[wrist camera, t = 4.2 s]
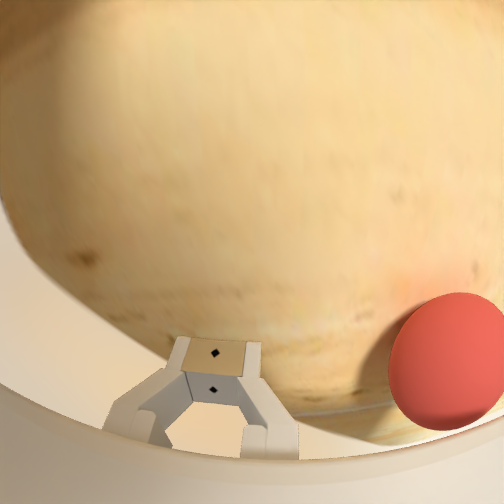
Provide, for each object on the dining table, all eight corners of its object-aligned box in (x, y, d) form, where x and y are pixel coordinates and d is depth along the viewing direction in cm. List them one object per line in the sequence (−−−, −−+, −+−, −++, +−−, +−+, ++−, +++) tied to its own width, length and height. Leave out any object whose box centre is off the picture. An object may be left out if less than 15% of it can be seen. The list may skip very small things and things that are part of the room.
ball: (361, 363, 12) (382, 465, 7) (394, 264, 10) (459, 381, 5) (449, 353, 12) (484, 435, 7) (491, 266, 9) (558, 348, 5)
